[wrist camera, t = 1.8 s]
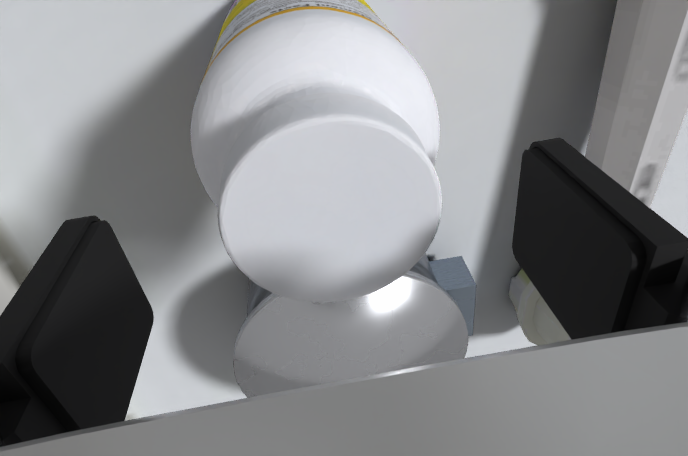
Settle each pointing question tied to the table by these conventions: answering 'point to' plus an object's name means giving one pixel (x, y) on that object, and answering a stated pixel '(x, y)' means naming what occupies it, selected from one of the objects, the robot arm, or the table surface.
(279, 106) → the supplement bottle
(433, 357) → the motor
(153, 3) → the table surface
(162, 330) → the table surface
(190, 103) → the table surface
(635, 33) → the light grey long piece
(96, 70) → the table surface
